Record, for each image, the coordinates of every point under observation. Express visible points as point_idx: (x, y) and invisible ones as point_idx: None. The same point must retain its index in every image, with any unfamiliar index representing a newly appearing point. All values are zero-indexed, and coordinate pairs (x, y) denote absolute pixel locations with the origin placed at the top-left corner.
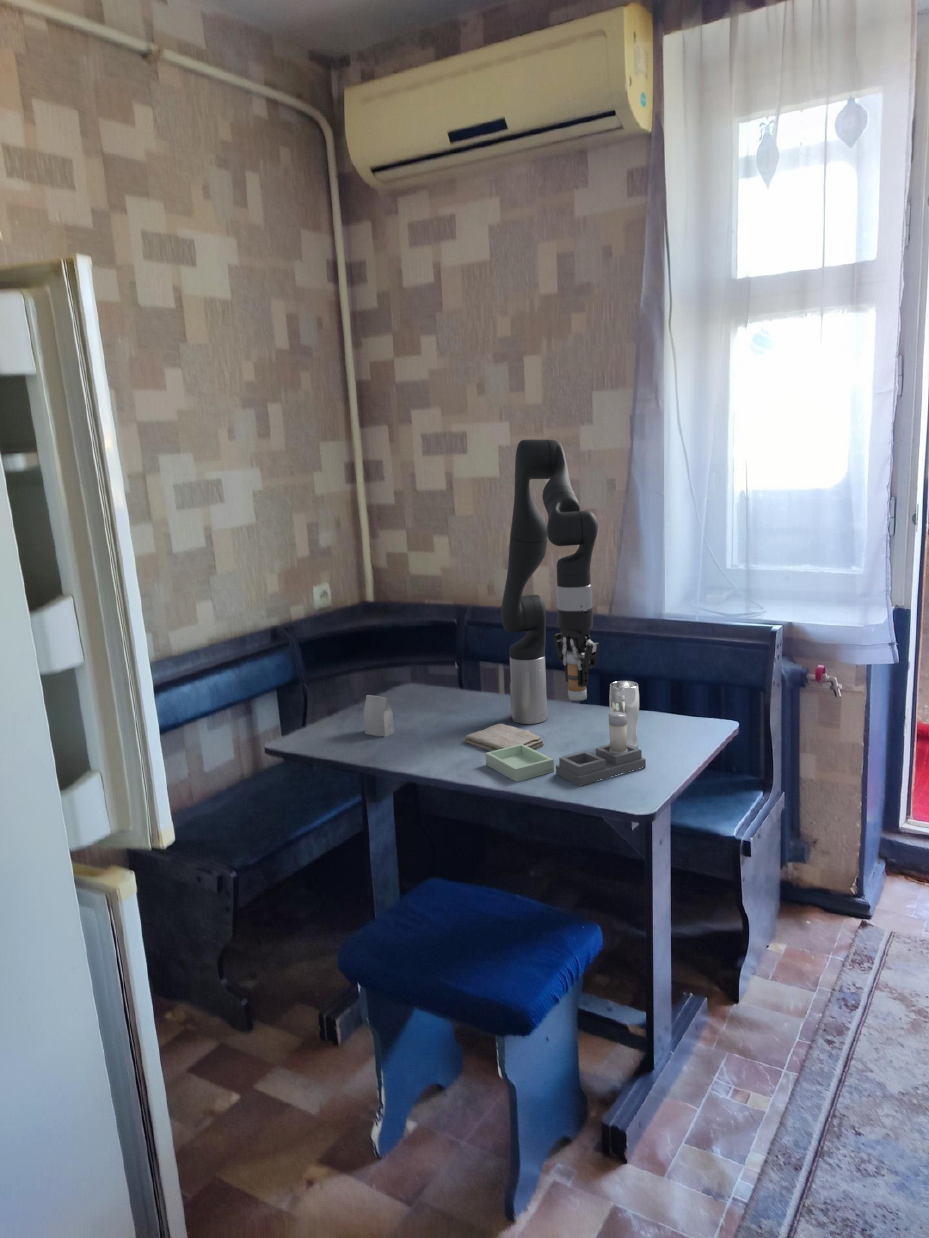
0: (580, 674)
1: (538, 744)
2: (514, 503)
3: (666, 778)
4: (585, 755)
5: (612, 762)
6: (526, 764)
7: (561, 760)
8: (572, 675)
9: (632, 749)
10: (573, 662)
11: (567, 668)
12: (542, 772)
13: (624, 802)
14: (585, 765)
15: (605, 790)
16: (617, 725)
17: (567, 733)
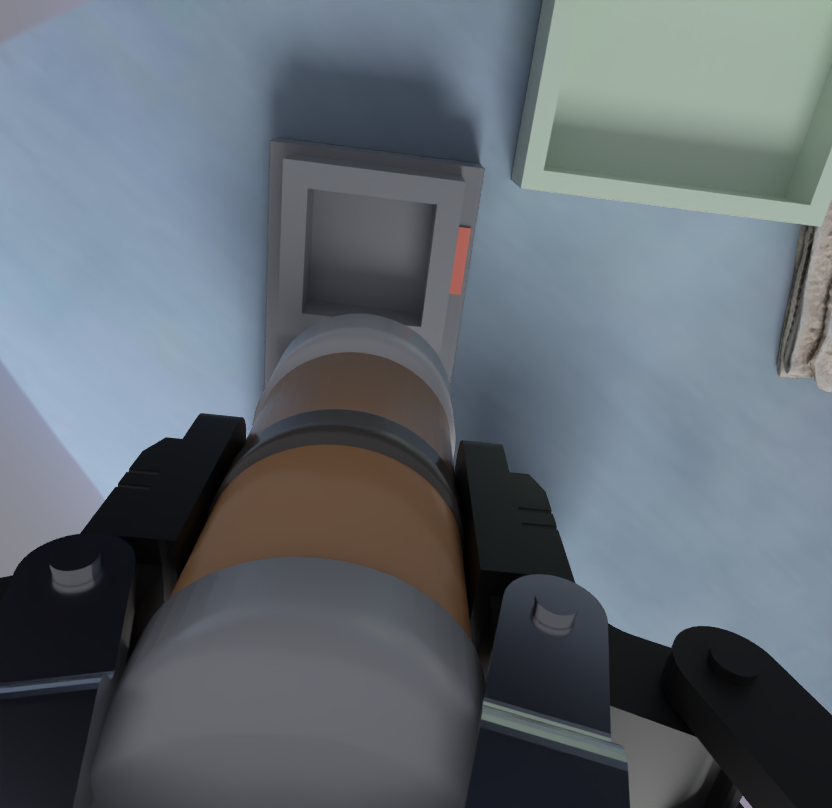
0: (143, 507)
1: (789, 344)
2: None
3: (132, 458)
4: (414, 322)
5: None
6: (661, 110)
7: (444, 178)
8: (281, 451)
9: None
10: (193, 609)
11: (477, 550)
12: (526, 106)
13: (3, 153)
14: (282, 206)
15: (169, 192)
16: None
17: (780, 532)
